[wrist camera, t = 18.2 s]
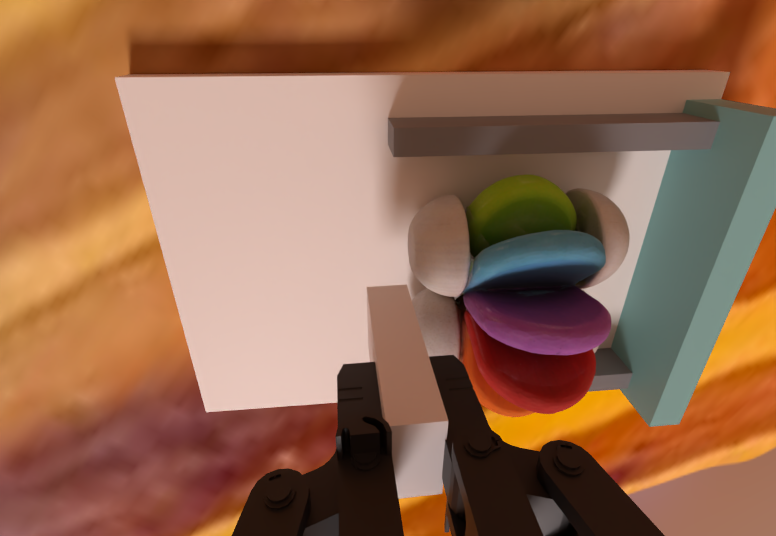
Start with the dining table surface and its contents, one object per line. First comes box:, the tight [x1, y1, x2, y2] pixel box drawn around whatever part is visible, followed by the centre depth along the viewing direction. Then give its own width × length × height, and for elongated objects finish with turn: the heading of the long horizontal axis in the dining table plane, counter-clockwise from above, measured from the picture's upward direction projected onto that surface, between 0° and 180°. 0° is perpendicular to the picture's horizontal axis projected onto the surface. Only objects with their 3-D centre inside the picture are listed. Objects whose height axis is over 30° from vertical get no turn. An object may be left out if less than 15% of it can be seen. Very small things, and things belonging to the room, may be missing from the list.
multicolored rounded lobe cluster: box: [408, 174, 630, 417], centre depth 17 cm, size 8×10×7 cm
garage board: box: [115, 70, 776, 427], centre depth 19 cm, size 23×16×5 cm
